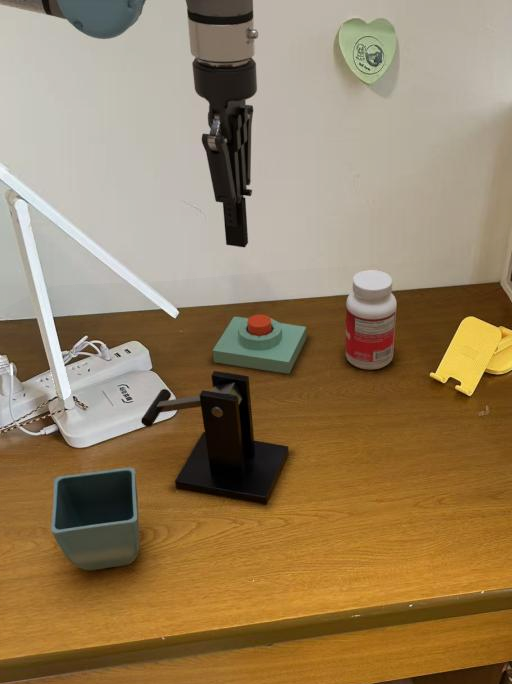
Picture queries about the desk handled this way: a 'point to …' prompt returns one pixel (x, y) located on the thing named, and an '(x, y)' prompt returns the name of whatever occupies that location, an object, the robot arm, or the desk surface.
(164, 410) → the lever
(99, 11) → the robot arm
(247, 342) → the button box
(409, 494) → the desk surface
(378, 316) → the pill bottle
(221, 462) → the bracket
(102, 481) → the flower pot
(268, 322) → the button
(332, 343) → the desk surface
